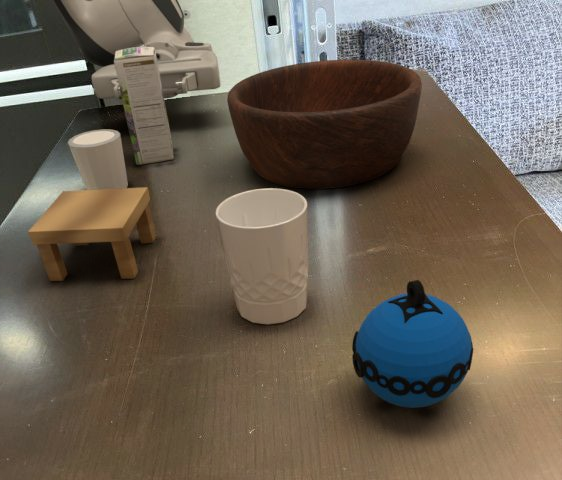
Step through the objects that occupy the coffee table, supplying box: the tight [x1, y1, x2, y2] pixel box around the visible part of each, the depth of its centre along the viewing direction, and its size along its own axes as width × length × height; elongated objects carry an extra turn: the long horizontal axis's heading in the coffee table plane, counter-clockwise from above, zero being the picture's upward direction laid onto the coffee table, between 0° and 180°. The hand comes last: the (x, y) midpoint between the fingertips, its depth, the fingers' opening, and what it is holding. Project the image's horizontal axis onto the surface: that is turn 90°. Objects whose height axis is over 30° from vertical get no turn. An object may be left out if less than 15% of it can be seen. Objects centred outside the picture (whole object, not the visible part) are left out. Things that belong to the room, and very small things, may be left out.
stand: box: [27, 186, 157, 282], centre depth 68 cm, size 10×10×6 cm
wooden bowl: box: [226, 59, 423, 190], centre depth 83 cm, size 25×25×10 cm
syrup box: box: [114, 46, 175, 166], centre depth 90 cm, size 6×6×14 cm
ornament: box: [351, 279, 474, 409], centre depth 45 cm, size 9×9×10 cm
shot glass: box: [67, 128, 129, 190], centre depth 84 cm, size 7×7×7 cm
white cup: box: [215, 187, 309, 325], centre depth 56 cm, size 8×8×10 cm
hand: (150, 91), depth 94 cm, fingers open, 8 cm apart
